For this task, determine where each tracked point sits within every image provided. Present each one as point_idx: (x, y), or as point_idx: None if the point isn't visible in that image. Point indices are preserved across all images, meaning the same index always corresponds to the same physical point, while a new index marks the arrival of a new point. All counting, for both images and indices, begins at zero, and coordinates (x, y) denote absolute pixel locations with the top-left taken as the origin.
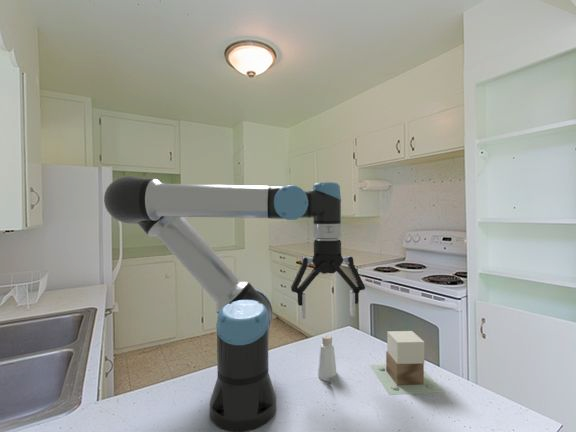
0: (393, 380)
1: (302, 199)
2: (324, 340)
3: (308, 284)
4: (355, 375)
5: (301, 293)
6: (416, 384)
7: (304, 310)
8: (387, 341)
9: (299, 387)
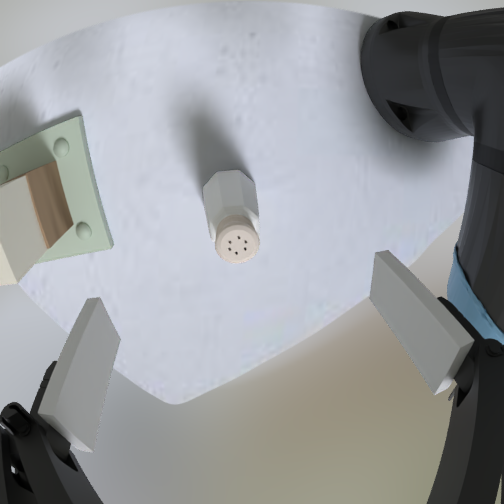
0: (60, 181)
1: None
2: (249, 225)
3: (480, 423)
4: (150, 206)
5: (482, 345)
6: (21, 174)
7: (404, 276)
8: (33, 264)
9: (308, 137)
